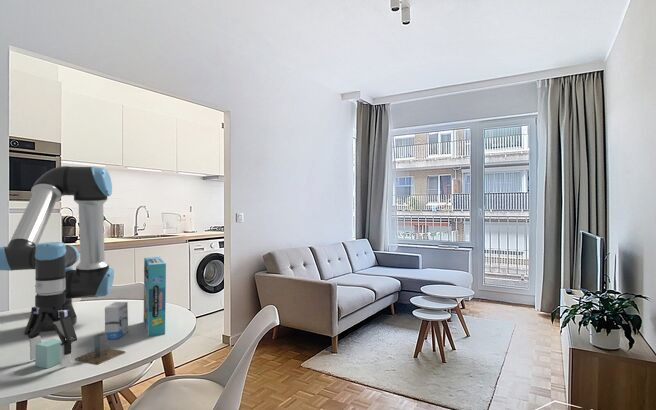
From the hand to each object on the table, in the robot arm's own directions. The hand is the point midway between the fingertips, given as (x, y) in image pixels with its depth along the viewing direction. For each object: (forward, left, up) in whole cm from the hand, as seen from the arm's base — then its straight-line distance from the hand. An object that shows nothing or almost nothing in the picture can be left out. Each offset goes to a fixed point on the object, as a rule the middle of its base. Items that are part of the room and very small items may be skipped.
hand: (50, 361), depth 117 cm
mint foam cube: (0, 0, -1) cm, 1 cm away
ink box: (-3, +26, -1) cm, 26 cm away
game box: (+3, +38, -1) cm, 38 cm away
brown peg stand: (+9, +10, -1) cm, 13 cm away
